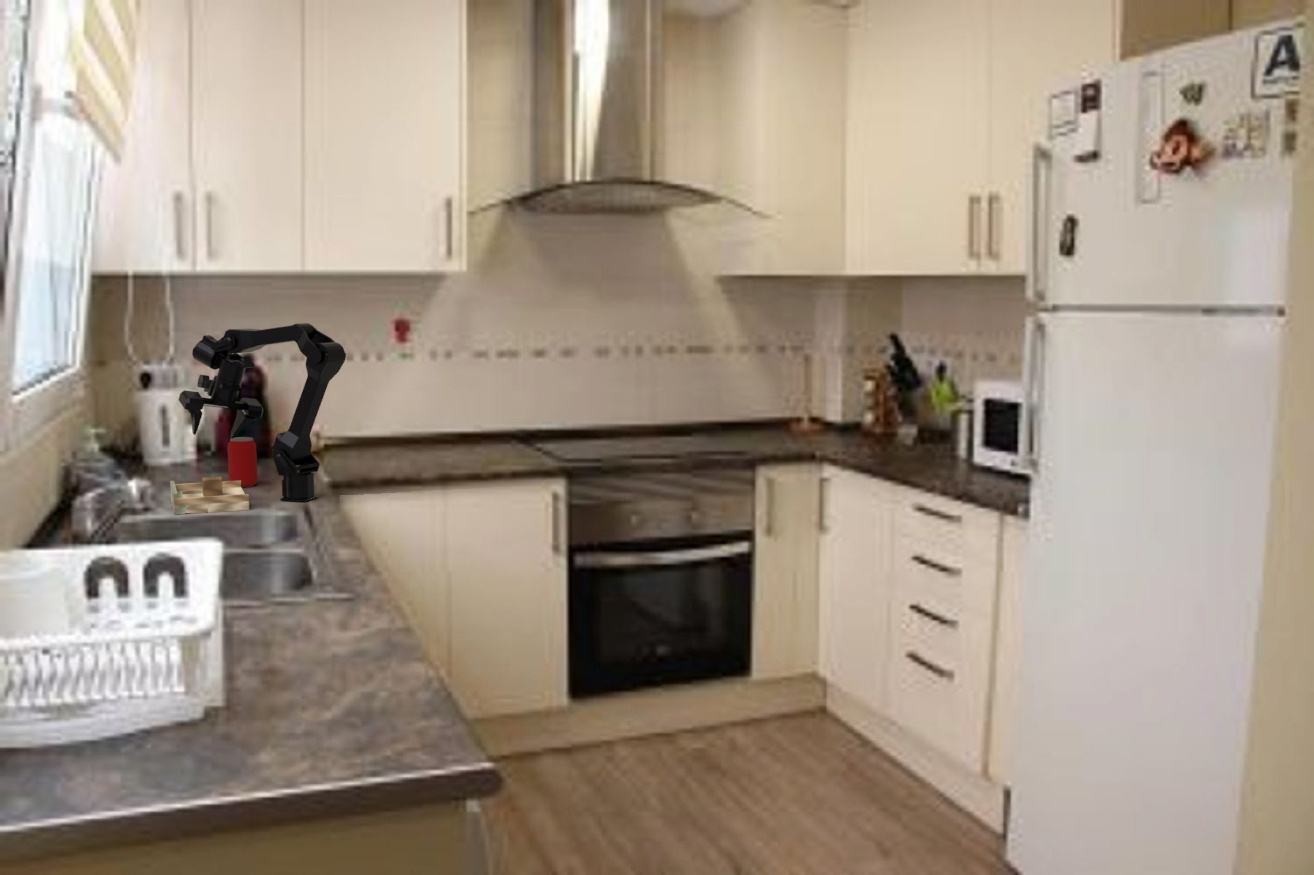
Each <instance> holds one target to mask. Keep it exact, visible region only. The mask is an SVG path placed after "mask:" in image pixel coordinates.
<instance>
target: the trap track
mask: <svg viewBox="0 0 1314 875" xmlns="http://www.w3.org/2000/svg"><path fill="white" fill-rule="evenodd" d="M169 482H170V484H169V485H170V502H171V505H172V509H173V514H174V515H175V514H180V515H186V514H185V513H194V514H207V513H206V512H208V513H209V514H210V513H221V512H234V511H235V512H236V511H249V510H250V494H249V493H245V492H244V490H243V487H241V480H240V481H229V480H227V481H226V480H225V481H223V480H222V491H223V496H207V497H204V496H203V487H202V482H192V483H190V482H189V483H175V480H170V481H169Z"/></svg>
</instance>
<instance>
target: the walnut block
mask: <svg viewBox="0 0 1314 875" xmlns="http://www.w3.org/2000/svg"><path fill="white" fill-rule="evenodd" d="M201 479H202V480H201V481H202V482H201V483H202V487H203V496H204V497H207V496H223V491H222V482H223V478H222V476H205V477H201Z"/></svg>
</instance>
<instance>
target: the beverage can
mask: <svg viewBox="0 0 1314 875" xmlns="http://www.w3.org/2000/svg"><path fill="white" fill-rule="evenodd" d="M257 457H258V456H257V443H256V442H255V440H254V437H251V436H238V437H237V436H235V437H234V438H231V437H230V440H229V441H228V444H227V466H228V467H227V469H228V470H227V471H228V481H240V480H241V488H251V487H253V486H255V485H256V484H257V483H258V458H257Z"/></svg>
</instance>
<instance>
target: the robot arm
mask: <svg viewBox="0 0 1314 875" xmlns="http://www.w3.org/2000/svg"><path fill="white" fill-rule="evenodd" d="M290 342H295V343H296V345H297V348H298V350H299V352H300V353H301V354H302V355H303V356H305V357H306V360H305V368H306V373H307V377H306V379H305V383H304V385H303V388H302V391H301V394H300V397H299V400H298V403H297V405H296V408H295V411H294V413H293V416H292V420H291V422H290V425H289V427H288V429H287V430H286V431H284V432H279V433H277V434H276V436H275V438H274V442H273V445H272V446H271V448H270V449H272V451H271V452H272V453H271V457H272V459H273V462H274V465H275V468H276V471H277V474H278V476H280V477H282V478H283V479H281V496H282V497H280V499H279V500H280V501H285V502H288V501H289V502H301V501H302V502H301V503H303V501H306V500H308V501H310V500H309V499H311V498H313V497H316V496H318V494H315V475H314V474H315V473H317V472H318V471H319V468H320V462H319V461H318V460H317V458H316V457H315V455H313V453H312V452H311V451H312V448H313V445H312V440H311V432H312V429H313V426H314V425H315V421H316V419H317V416H318V413H319V410H320V407H321V404H322V402H323V399H324V398H325V393H326V392H327V389H328V388H327V387H328V386H329V384H330V382H331V380H332V379H333V378H334V377H335V376H336V375H337V374H338V373H340V370H341V368H342V367H343V364H344V363H345V361H346V358H347V353H346V351H345V348H344V347H343V346H342V345H341V343H338V342H336V341H335V340H334V339H333V338H331V337H330V336H328V335H326V334H325V333H323V332H321V331H319V330H318V329H317V328H316V327H315V326H314V325H312V324H311V323H307V322H304V323H301V322H300V323H294V324H291V325H285V326H278V327H270V328H265V329H259V328H234V329H233V328H229V329H227V330H225V331H224V334H223V336H222V337H221V338H219V339H216V338H215V337H214V336H212V335H210V334H208V335H203V336H202V339H201V340H199V341H198V342H197V343H196V344H195V346H194V347H193V348H192V353H191V356H192V358H193V359H194V360H195V361H198V362H199V363H201V364H203V365H204V366H207V367H208V368H210V369H211V370H213V371H214V370H217V375H214V377H213V379H210V376H209V375H207V374H199V376H198V379H197V387H198V388H200V389H203V392H204V393H206V395H207V396H209V397H203V396H202V395H201V393H200V392H199V391H194V390H193V391H192V390H182V392H180V393H179V397H178V401H179V402H180V404H181V405H182V407H183V409H184V410H186V411H187V412H188V413H189V414H190V420H191V430H192V435H194V436H196V434H197V432H198V430H199V427H200V423H201V419H202V416H203V411H202V410H203V409H204V407H209V408H211V407H212V408H220V409H230V410H236V417H235V420H234V423H233V426H232V429H231V431H230V439H231V438H235V437H237V435H238V434H239V433H240V432H241V431H242V430H243V428H245V427H246V426H247V425H248V424H250V422H252V421H256V419H261V418H263V414H264V407H263V406H262V404H261V403H260V402H259V401H258V400H257V398H250V397H242V398H240V401H237V399H238V396H239V393H240V392H242V389H243V387H242V382H243V380H244V375H245V371H246V369H250V368H251V369H252V368H255V367H256V366H255V363H254V362H253V361H252V359H251V358H252V357H250V356H243V355H241V354H243V353H252V352H255V351H257V350H260V349H263V348H264V347H265V346H270V345H277V344H278V345H279V344H283V343H285V344H286V343H290ZM316 498H317V497H316ZM311 500H312V499H311ZM306 502H307V501H306Z"/></svg>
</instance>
